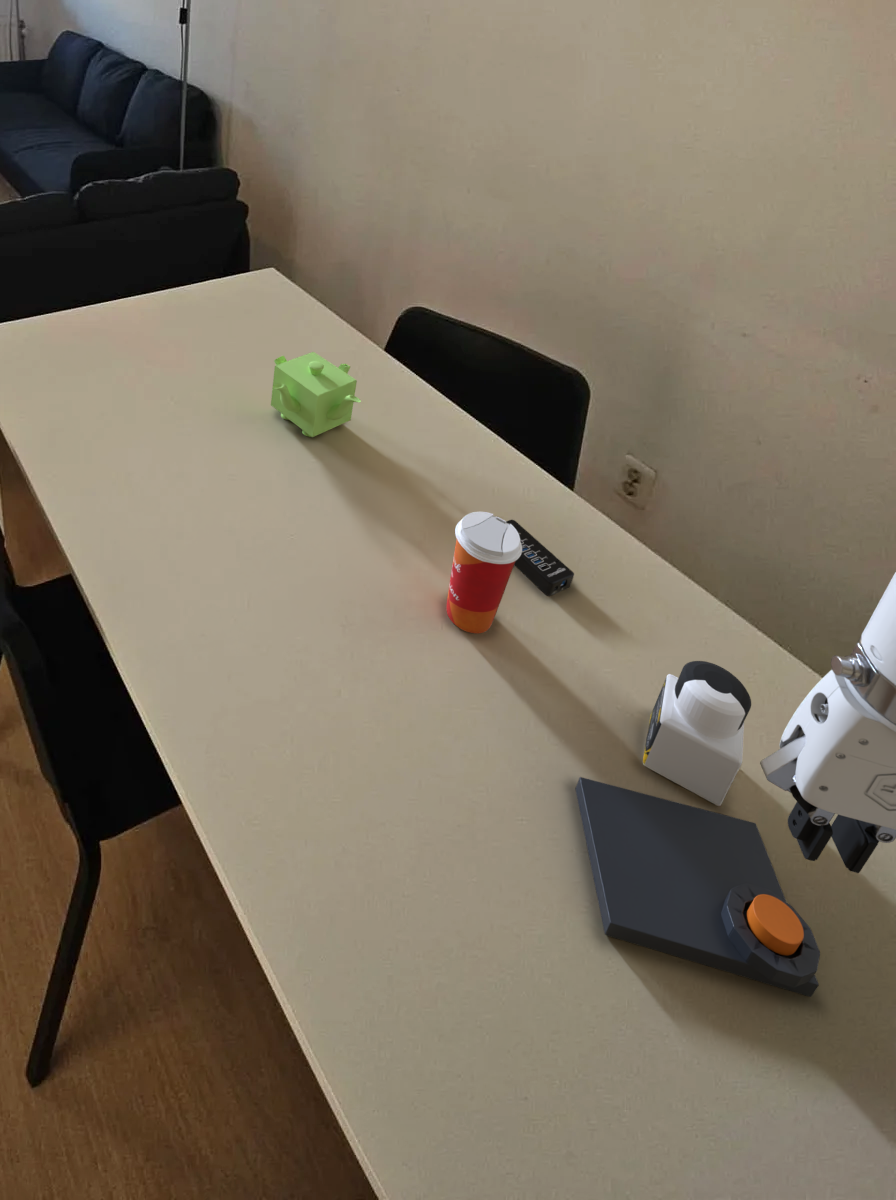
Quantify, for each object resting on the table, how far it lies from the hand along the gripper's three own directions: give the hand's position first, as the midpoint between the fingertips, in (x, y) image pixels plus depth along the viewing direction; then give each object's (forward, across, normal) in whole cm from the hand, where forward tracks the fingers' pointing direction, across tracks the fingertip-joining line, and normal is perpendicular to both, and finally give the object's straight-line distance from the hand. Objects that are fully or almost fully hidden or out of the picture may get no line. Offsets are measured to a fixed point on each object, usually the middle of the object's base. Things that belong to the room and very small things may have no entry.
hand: (822, 845), depth 63 cm
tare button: (+12, 0, 0) cm, 12 cm away
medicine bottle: (+15, -1, +17) cm, 23 cm away
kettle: (+15, -46, +65) cm, 81 cm away
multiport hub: (+15, -13, +42) cm, 46 cm away
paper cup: (+15, -22, +30) cm, 40 cm away
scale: (+15, -5, +4) cm, 16 cm away
